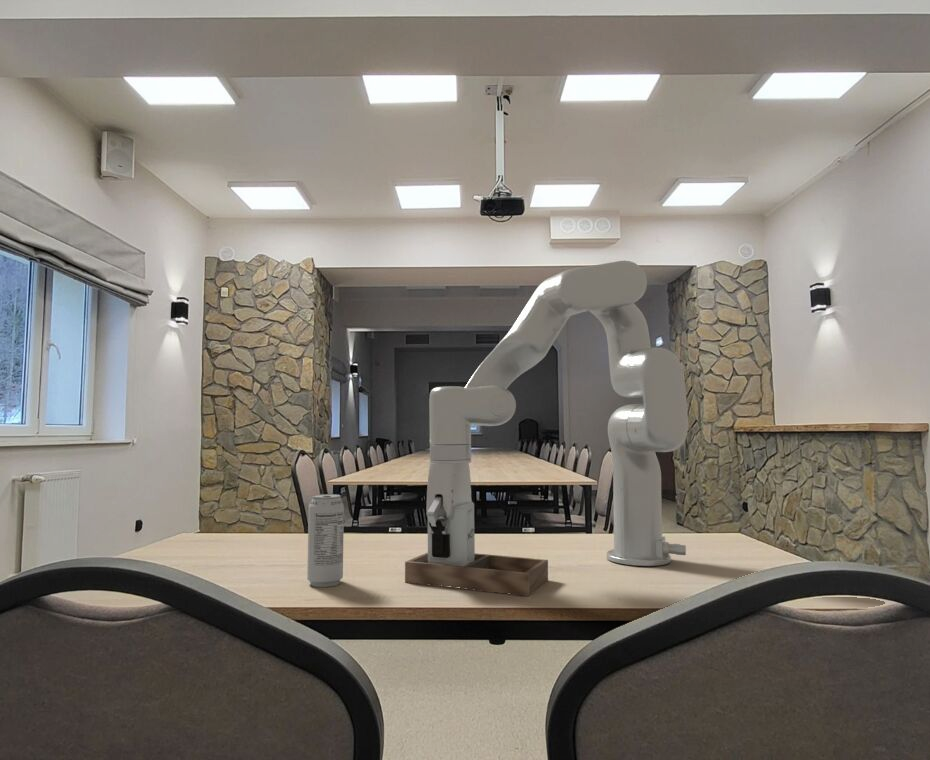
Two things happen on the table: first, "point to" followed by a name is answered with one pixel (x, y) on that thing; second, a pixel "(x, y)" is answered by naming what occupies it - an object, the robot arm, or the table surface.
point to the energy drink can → (325, 540)
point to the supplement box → (457, 537)
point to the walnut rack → (482, 573)
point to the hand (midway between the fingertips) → (451, 551)
